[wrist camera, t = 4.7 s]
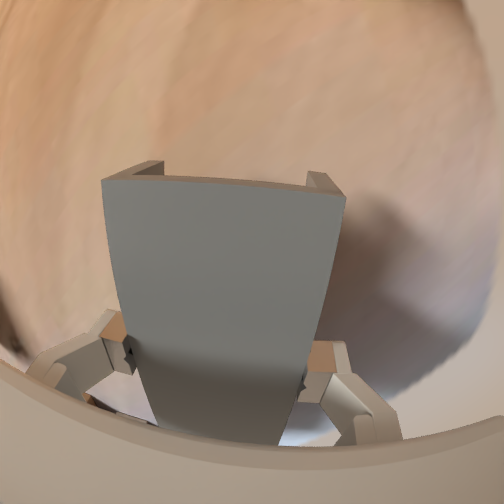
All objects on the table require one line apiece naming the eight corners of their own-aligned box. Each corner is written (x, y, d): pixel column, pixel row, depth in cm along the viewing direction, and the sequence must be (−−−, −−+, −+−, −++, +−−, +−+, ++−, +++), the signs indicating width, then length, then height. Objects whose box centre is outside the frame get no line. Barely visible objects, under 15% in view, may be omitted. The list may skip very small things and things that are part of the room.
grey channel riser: (148, 160, 9) (101, 179, 6) (325, 173, 9) (346, 197, 6) (187, 440, 18) (179, 471, 15) (264, 451, 18) (261, 484, 15)
